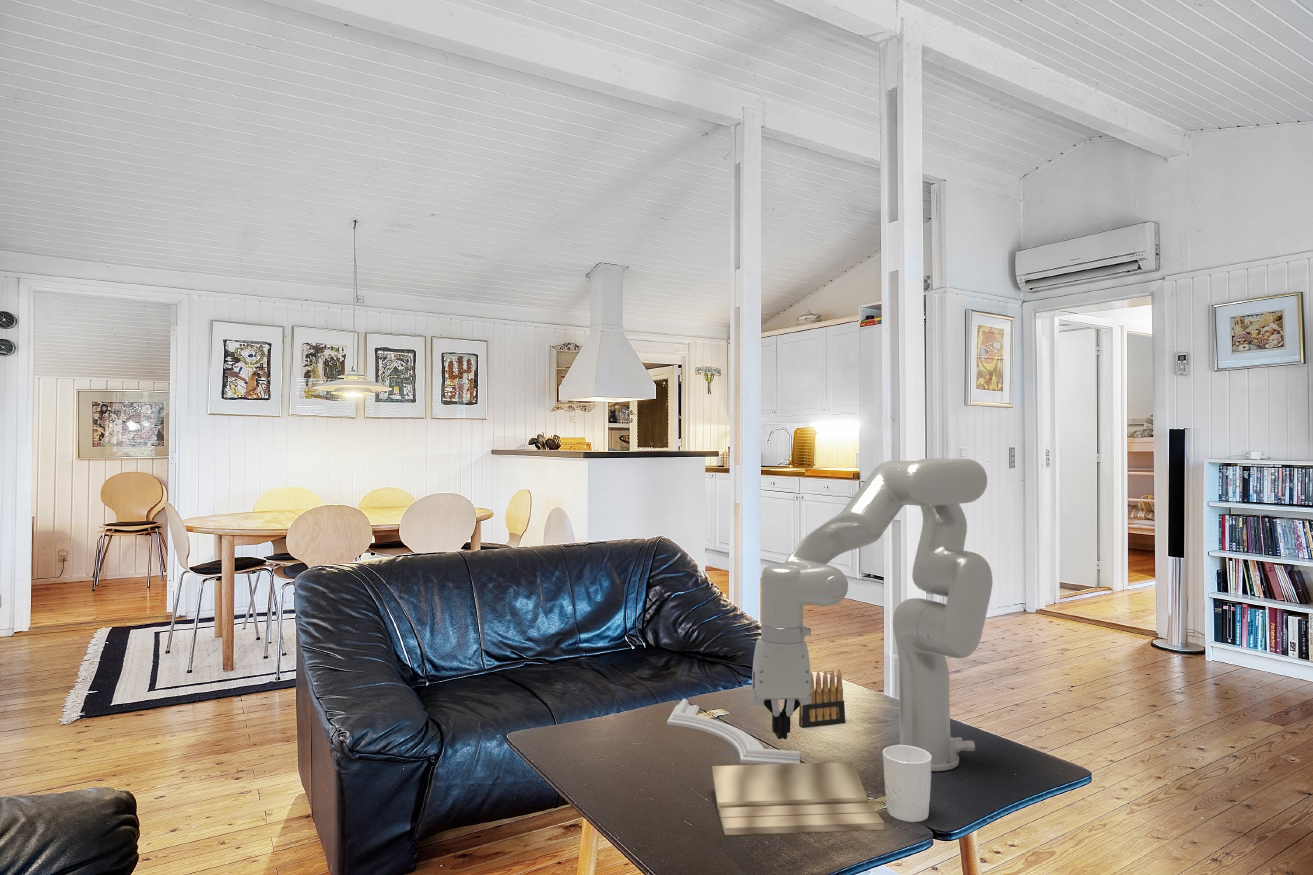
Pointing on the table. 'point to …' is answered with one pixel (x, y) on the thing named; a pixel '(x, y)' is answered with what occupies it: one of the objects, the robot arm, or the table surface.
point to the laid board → (800, 819)
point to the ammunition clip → (824, 703)
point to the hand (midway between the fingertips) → (781, 736)
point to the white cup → (907, 782)
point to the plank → (787, 784)
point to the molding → (731, 737)
